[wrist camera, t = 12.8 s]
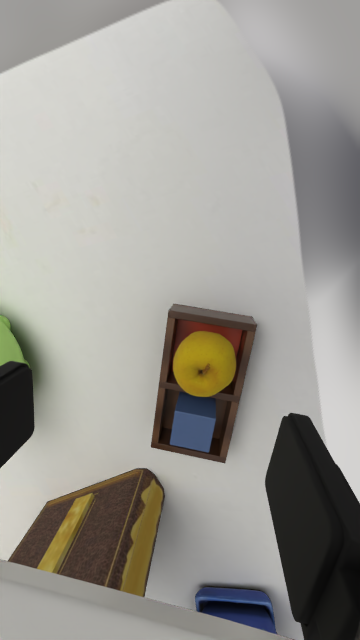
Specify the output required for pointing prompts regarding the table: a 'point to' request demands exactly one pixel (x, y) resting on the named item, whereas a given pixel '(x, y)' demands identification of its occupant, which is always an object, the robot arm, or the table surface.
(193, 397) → the blue block
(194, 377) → the apple
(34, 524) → the book
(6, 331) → the teapot
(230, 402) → the tray
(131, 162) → the table surface
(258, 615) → the flower pot
